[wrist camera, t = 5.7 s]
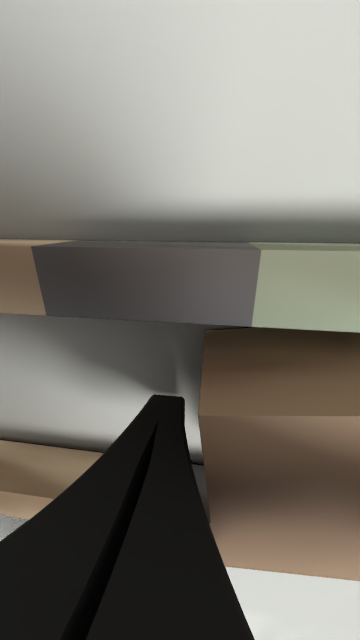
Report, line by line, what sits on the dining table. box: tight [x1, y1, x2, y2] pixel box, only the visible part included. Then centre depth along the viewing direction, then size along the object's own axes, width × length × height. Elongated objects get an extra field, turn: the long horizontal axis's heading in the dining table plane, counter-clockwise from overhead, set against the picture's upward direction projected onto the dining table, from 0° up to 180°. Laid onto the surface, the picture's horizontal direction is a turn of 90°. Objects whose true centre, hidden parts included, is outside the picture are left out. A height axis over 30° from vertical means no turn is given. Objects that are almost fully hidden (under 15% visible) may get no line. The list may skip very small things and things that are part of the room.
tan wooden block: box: [198, 327, 360, 581], centre depth 8 cm, size 6×6×4 cm
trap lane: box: [0, 239, 360, 530], centre depth 9 cm, size 13×31×3 cm, turn 90°
